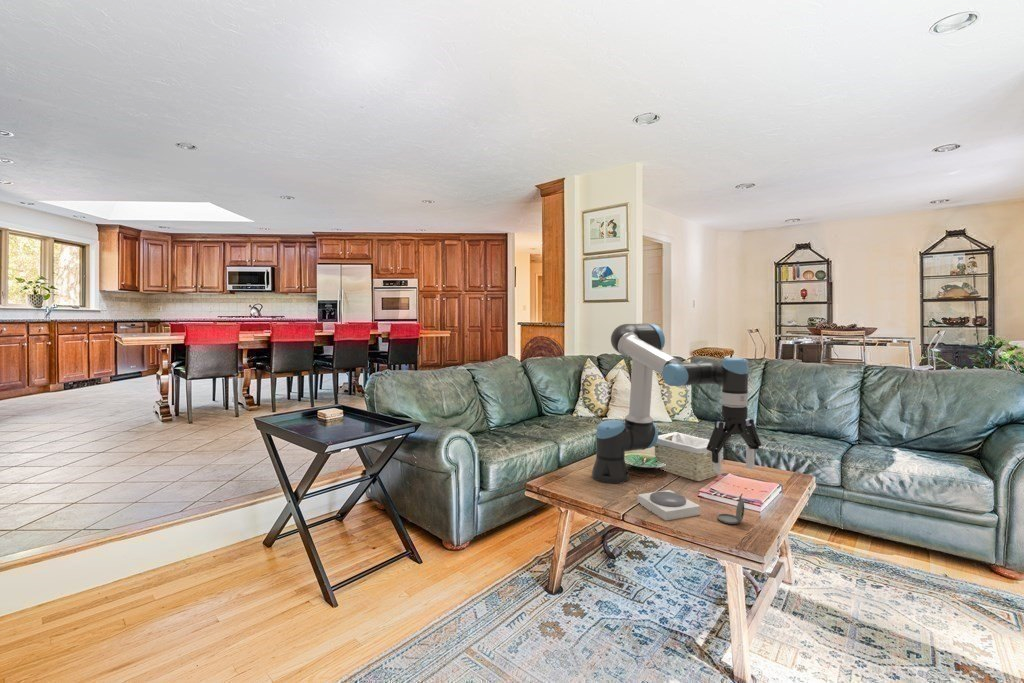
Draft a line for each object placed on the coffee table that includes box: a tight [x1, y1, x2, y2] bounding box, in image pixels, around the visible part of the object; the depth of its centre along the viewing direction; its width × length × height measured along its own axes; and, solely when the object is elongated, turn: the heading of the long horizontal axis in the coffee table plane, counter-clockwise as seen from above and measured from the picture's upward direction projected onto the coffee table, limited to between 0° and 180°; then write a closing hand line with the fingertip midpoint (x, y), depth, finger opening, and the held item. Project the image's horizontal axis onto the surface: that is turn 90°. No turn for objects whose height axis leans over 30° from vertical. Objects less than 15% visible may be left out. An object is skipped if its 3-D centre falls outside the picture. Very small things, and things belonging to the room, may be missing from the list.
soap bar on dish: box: [637, 489, 701, 521], centre depth 163 cm, size 16×14×4 cm
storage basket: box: [654, 431, 721, 482], centre depth 202 cm, size 24×16×15 cm
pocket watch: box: [717, 493, 745, 525], centre depth 152 cm, size 8×8×10 cm
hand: (733, 470), depth 151 cm, fingers open, 13 cm apart
